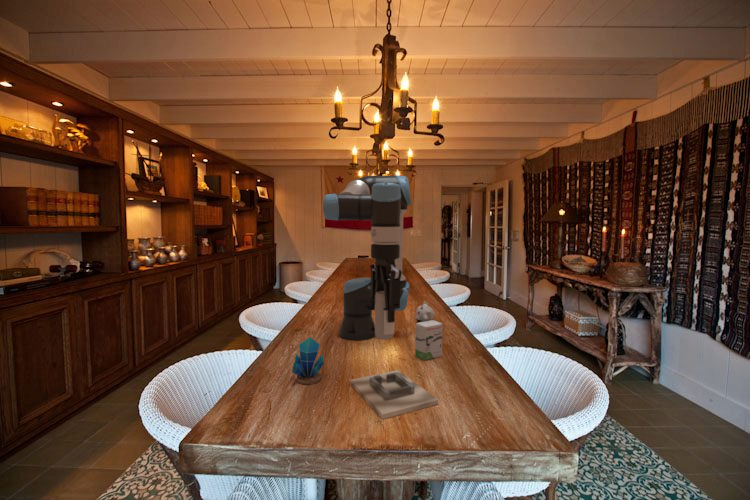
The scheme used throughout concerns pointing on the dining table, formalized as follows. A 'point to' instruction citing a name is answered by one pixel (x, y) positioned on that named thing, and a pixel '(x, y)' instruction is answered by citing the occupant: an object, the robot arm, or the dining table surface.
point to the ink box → (428, 340)
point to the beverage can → (380, 316)
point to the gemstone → (308, 363)
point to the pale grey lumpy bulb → (424, 312)
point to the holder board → (392, 393)
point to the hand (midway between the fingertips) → (384, 330)
